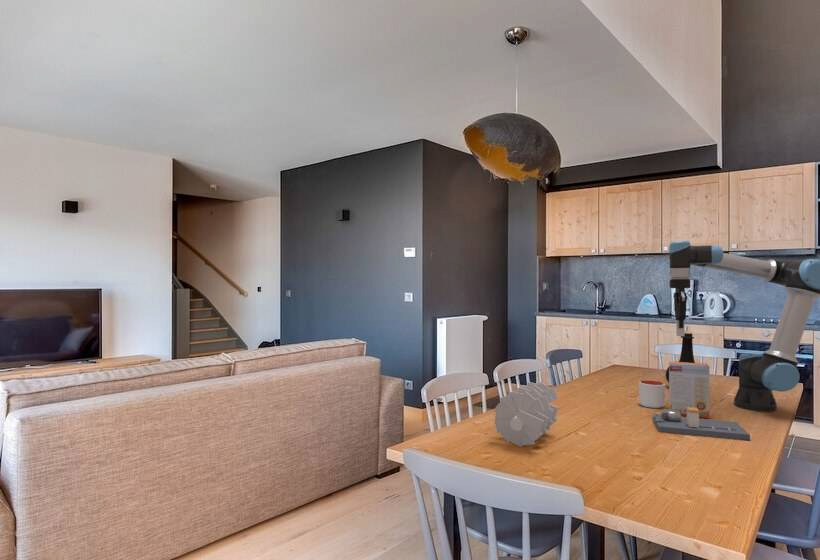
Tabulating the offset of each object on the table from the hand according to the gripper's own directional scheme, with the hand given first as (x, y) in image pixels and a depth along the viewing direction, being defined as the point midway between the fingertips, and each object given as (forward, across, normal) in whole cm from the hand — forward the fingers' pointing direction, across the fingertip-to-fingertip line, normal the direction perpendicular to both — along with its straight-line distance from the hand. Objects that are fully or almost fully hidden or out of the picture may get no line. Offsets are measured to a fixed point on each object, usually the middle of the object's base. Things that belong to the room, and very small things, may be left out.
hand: (680, 335), depth 205 cm
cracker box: (+32, +4, +2) cm, 32 cm away
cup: (+31, -7, -10) cm, 34 cm away
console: (+31, +25, 0) cm, 40 cm away
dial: (+29, +24, -10) cm, 39 cm away
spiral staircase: (+30, +55, -59) cm, 86 cm away
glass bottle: (+32, -48, +12) cm, 59 cm away
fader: (+29, +29, -2) cm, 41 cm away
